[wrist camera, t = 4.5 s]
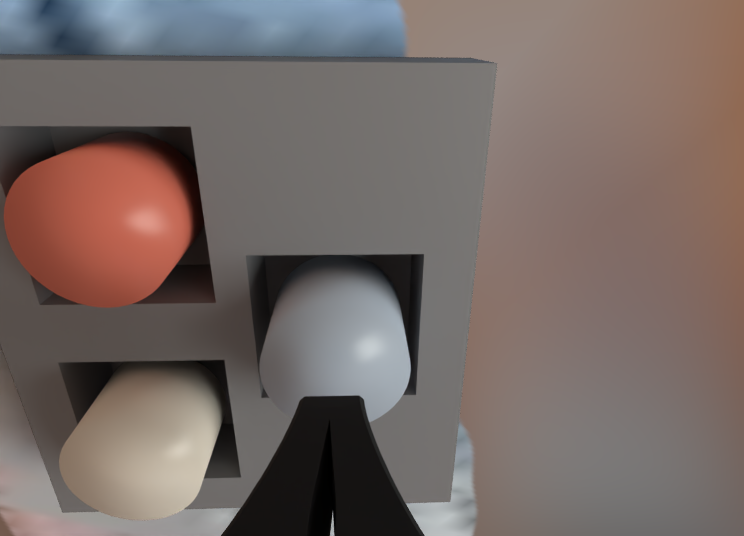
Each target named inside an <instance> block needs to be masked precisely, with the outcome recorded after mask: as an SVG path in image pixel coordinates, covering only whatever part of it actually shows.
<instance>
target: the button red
mask: <svg viewBox="0 0 744 536" xmlns="http://www.w3.org/2000/svg"><path fill="white" fill-rule="evenodd" d="M4 224H5V230H6V234H7V238H8V240H9V243H10V245H11V248H12V250H13V252H14V253H15V255H16V257H17V258H18V260H19V261H20V263H21V264H22V265H23V267H24V268H25V269H26V270H27V271H28V272H29V273H30V275H32V276H33V277H34V278H35V279H36V280H37V281H38V282H39V283H41V284H42V285H43V286H45V287H46V288H47V289H49V290H51V291H52V292H54V293H55V294H57V295H59V296H61V297H63V298H65V299H68V300H70V301H73V302H76V303H79V304H83V305H87V306H93V307H105V308H110V307H121V306H126V305H130V304H133V303H136V302H138V301H140V300H142V299H144V298H146V297H147V296H149V295H150V294H152V293H153V292H154V291H155V290H156V289H157V288H158V287H159V286H160V285H161V284H162V282H163V281H164V280H165V279H166V277H167V276H168V275H169V273H170V272H171V271H172V269H173V268H174V267H175V265H176V264H177V263H178V261H179V260H180V259H181V258H182V256H183V255H184V254H185V252H186V251H187V250H188V248H189V247H190V246H191V244H192V243H193V242H194V240H195V239H196V238H197V236H198V235H199V233H200V232H201V230H202V228H203V225H204V216H203V209H202V202H201V195H200V188H199V181H198V174H197V172H196V170H195V169H194V167H193V166H192V165H191V163H190V162H189V161H188V160H187V159H186V158H185V157H184V156H183V155H182V154H181V153H180V152H179V151H178V150H176V149H175V148H174V147H172V146H171V145H169V144H167V143H166V142H164V141H162V140H160V139H158V138H155V137H153V136H149V135H146V134H142V133H137V132H117V133H113V134H108V135H106V136H103V137H100V138H98V139H95V140H93V141H90V142H88V143H86V144H83V145H81V146H78V147H76V148H73V149H71V150H69V151H66V152H64V153H61V154H59V155H56V156H54V157H51V158H49V159H47V160H44V161H42V162H39V163H37V164H35V165H34V166H32V167H30V168H28V169H27V170H26V171H25V172H23V173H22V174H21V175H20V176H19V177H18V178H17V179H16V181H15V182H14V183H13V185H12V187H11V188H10V190H9V193H8V195H7V198H6V202H5V207H4Z"/></svg>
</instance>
